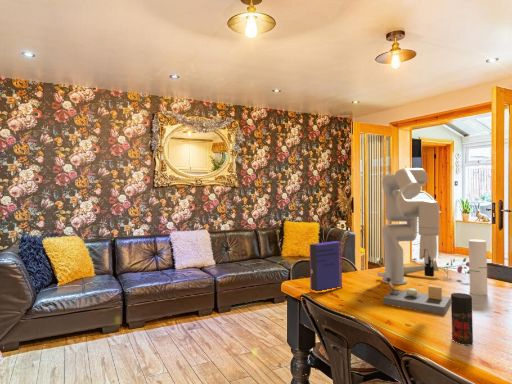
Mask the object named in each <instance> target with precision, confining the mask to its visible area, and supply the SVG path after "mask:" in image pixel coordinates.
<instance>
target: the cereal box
mask: <svg viewBox="0 0 512 384" xmlns="http://www.w3.org/2000/svg"><path fill="white" fill-rule="evenodd" d="M342 261H343V260H342V242H341V241H337V240H336V241H335V240H333V241H325V242H317V243H311V244H309V280H310V281H309V282H310V290H311V289H312V290H315V291H322V290H327V289H332V288H337V287H342V288H343V272H342V271H343V270H342V269H343V265H342V264H343V263H342Z"/></svg>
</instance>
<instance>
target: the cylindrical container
mask: <svg viewBox="0 0 512 384" xmlns="http://www.w3.org/2000/svg"><path fill="white" fill-rule="evenodd" d="M487 257H488V256H487V240H485V239H484V240H483V239H468V258H469V259H468V262H469V267H468V269H469V270H468V271H469V275H468V276H469V293H470V294H474V295H479V296H482V295H483V296H485V295H488V261H487V259H488V258H487Z"/></svg>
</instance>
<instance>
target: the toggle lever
mask: <svg viewBox="0 0 512 384" xmlns="http://www.w3.org/2000/svg"><path fill="white" fill-rule="evenodd" d="M386 281H387V282H389V283H388V284H389V286H390V288H391V291H395V290H394V289H395V288H394V286H393V285H394V284H392V283H391V279H390V278H389V277H387V278H386Z"/></svg>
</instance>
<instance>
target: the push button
mask: <svg viewBox="0 0 512 384" xmlns="http://www.w3.org/2000/svg"><path fill="white" fill-rule="evenodd" d="M405 291H406V294H407V295H411V296H416V295H417V293H418V289H416V288H411V287H409V288H406V290H405Z"/></svg>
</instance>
